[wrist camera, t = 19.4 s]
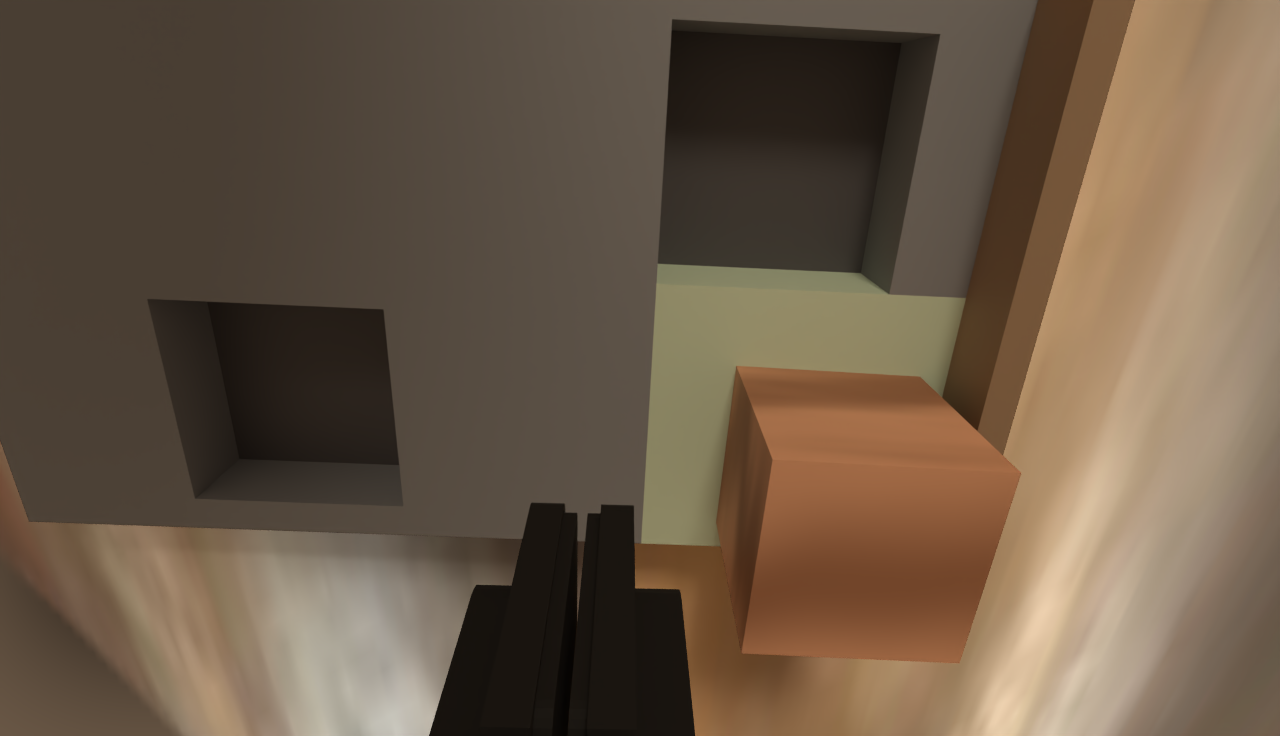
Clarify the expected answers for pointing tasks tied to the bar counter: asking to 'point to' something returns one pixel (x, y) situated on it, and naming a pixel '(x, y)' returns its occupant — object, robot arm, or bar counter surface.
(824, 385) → the block
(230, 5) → the deck
